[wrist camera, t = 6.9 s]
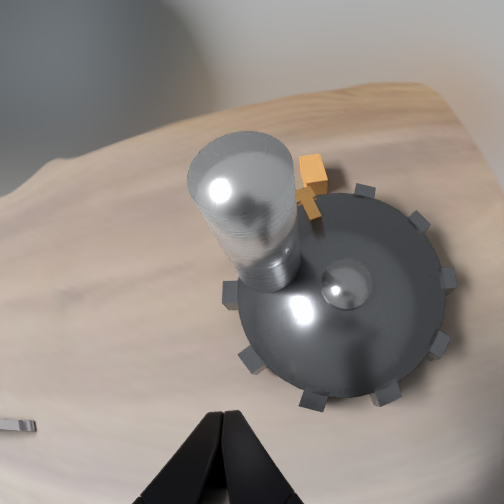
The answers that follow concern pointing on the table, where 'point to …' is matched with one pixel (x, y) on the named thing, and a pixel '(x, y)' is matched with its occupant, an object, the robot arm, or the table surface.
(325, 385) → the sprocket
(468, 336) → the table surface
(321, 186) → the orange rectangular block
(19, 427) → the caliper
